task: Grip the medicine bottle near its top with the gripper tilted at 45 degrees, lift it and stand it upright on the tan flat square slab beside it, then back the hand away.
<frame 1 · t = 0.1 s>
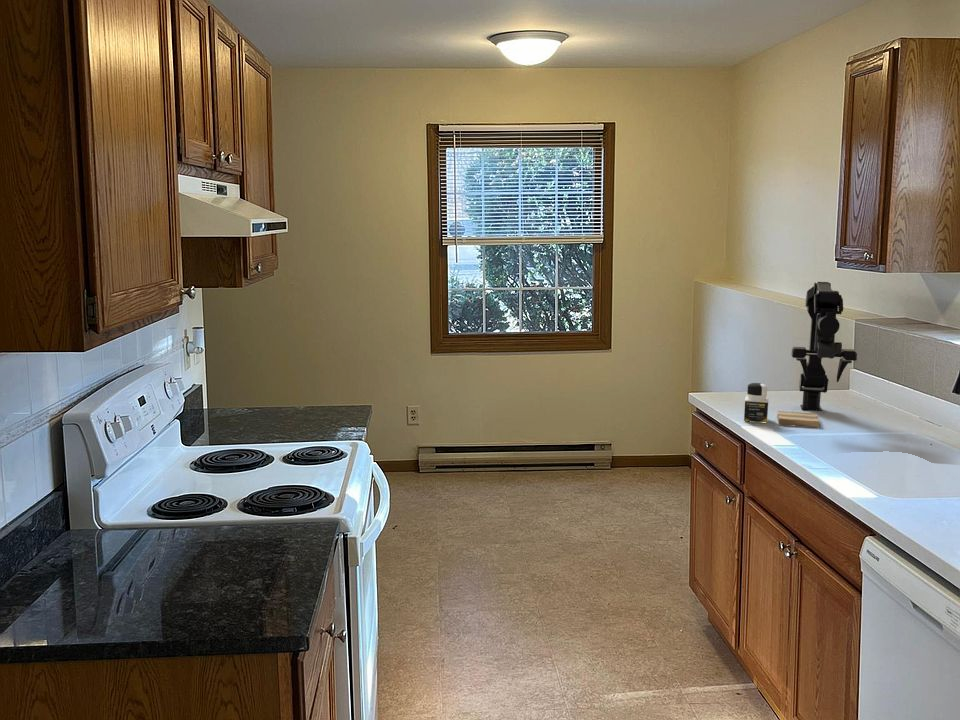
hand: (821, 381, 297), 15 cm above the worktop, tool pointing down, fingers open, 9 cm apart
tan flat square slab: (797, 422, 306), on the worktop
medicine bottle: (755, 420, 308), on the worktop
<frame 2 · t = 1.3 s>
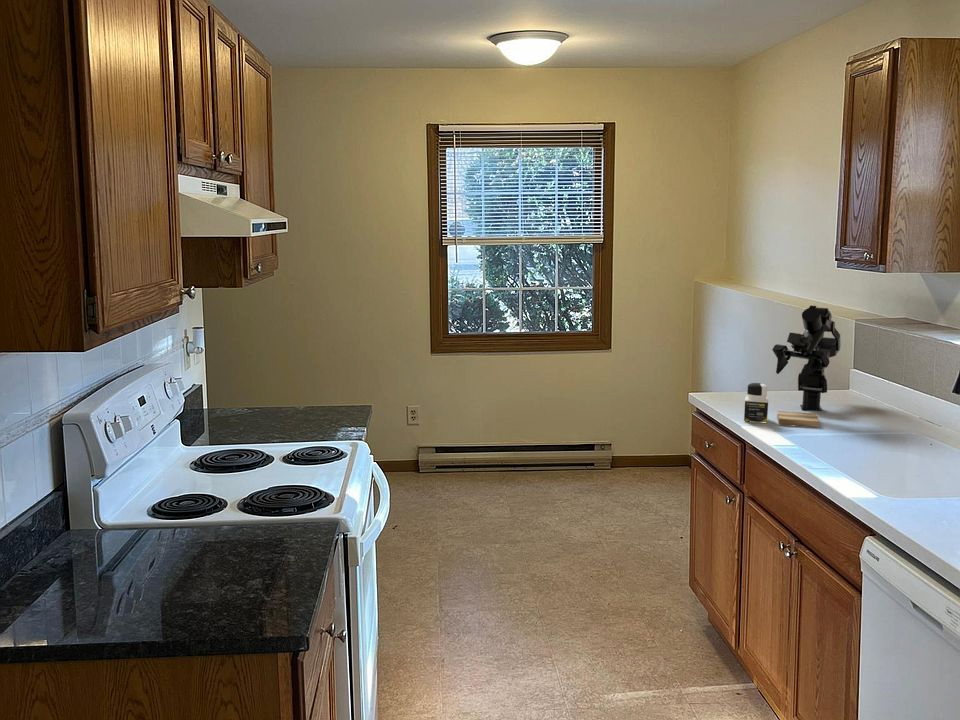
hand: (789, 375, 314), 13 cm above the worktop, tool tilted 45°, fingers open, 9 cm apart
nothing on the worktop moved.
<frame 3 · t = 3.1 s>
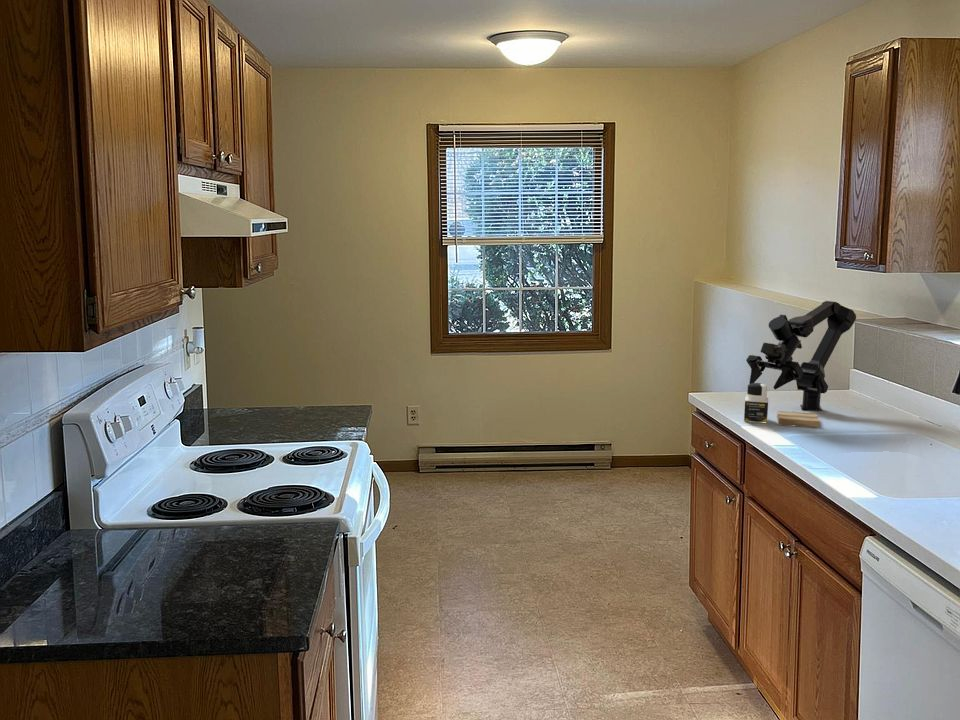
hand: (762, 386, 308), 11 cm above the worktop, tool tilted 45°, fingers open, 9 cm apart
nothing on the worktop moved.
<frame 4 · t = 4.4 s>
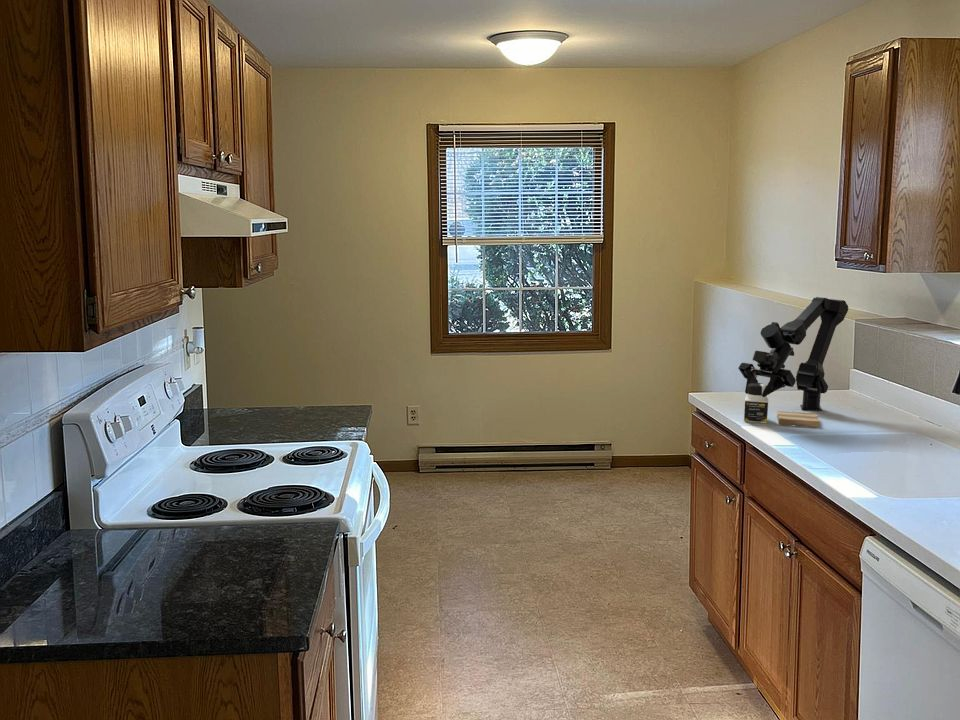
hand: (754, 394, 306), 9 cm above the worktop, tool tilted 45°, fingers closed on medicine bottle, 6 cm apart
medicine bottle: (755, 420, 308), on the worktop, touching gripper
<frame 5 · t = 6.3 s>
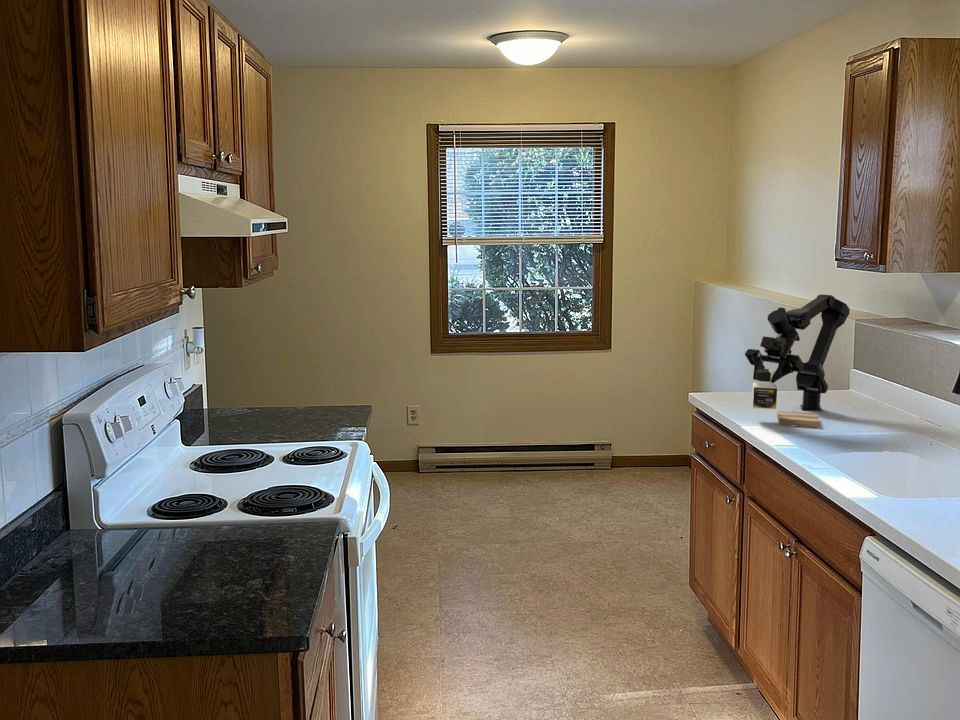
hand: (762, 380, 304), 13 cm above the worktop, tool tilted 45°, fingers closed on medicine bottle, 6 cm apart
medicine bottle: (763, 407, 307), point 4 cm above the worktop, touching gripper
when the fingers open (12 cm above the worktop, at t = 8.4 s): medicine bottle drops 1 cm, resting on tan flat square slab.
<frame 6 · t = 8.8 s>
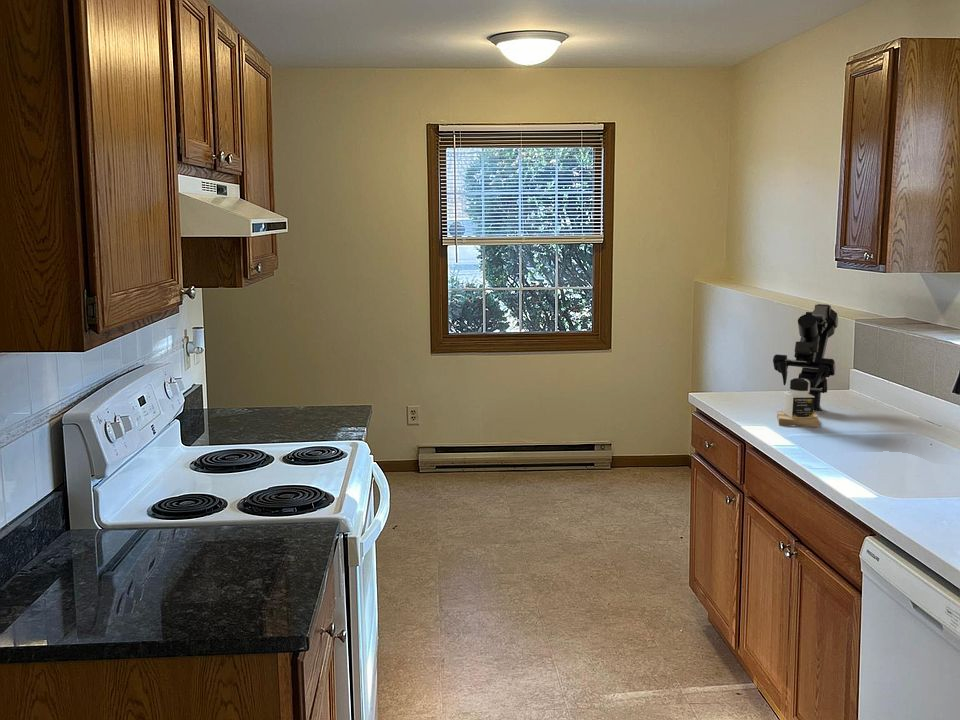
hand: (799, 385, 303), 12 cm above the worktop, tool tilted 45°, fingers open, 9 cm apart
medicine bottle: (797, 416, 306), point 2 cm above the worktop, touching tan flat square slab
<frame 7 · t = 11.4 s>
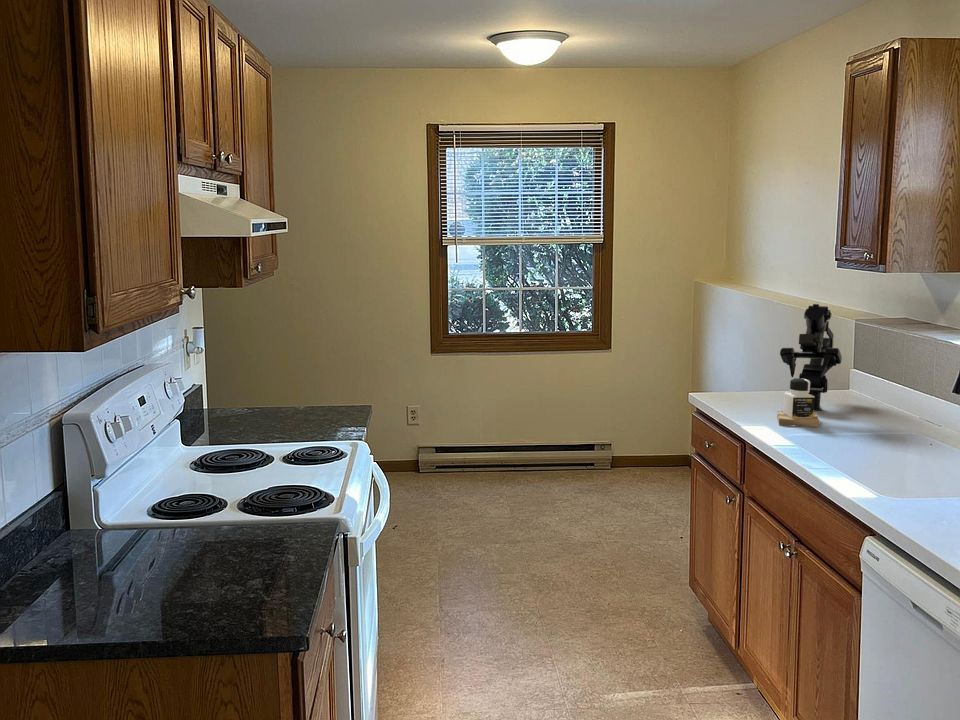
hand: (806, 376, 311), 13 cm above the worktop, tool tilted 40°, fingers open, 9 cm apart
nothing on the worktop moved.
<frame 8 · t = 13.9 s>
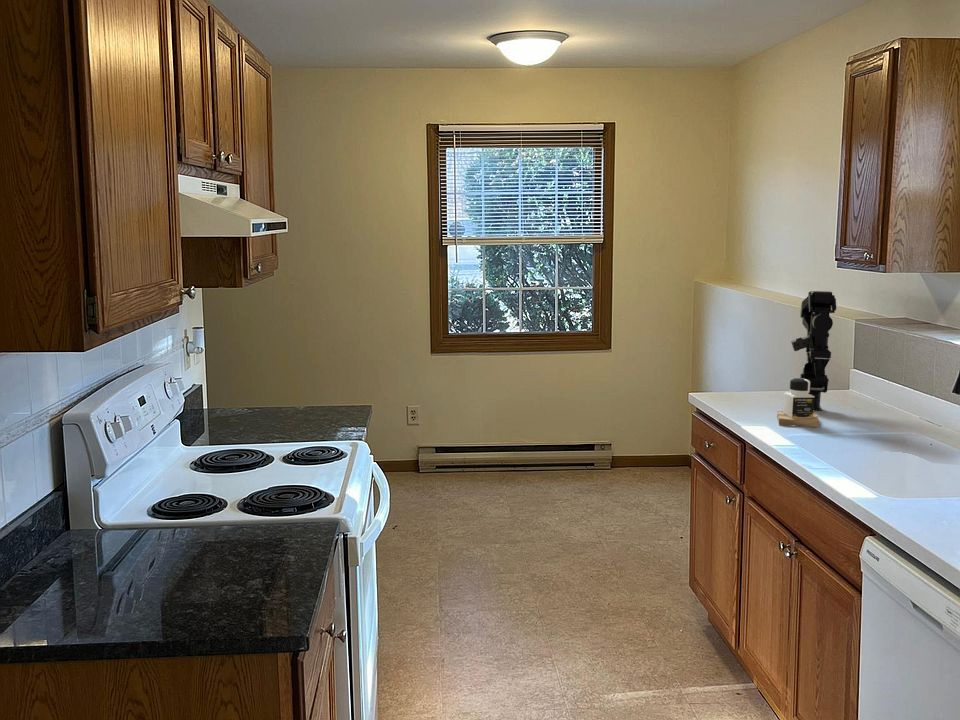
hand: (816, 376, 314), 13 cm above the worktop, tool pointing down, fingers open, 9 cm apart
nothing on the worktop moved.
at the end: medicine bottle inside the target area on the tan flat square slab (0.2 cm from its centre), point 1.8 cm above the tan flat square slab's base; medicine bottle tilted 0°; the gripper is holding nothing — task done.
